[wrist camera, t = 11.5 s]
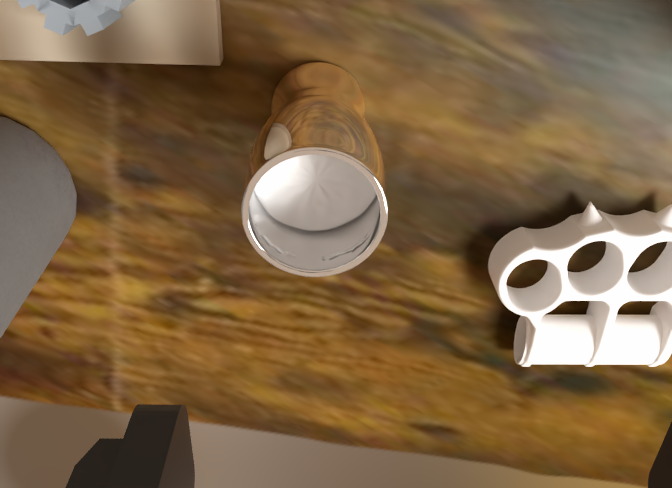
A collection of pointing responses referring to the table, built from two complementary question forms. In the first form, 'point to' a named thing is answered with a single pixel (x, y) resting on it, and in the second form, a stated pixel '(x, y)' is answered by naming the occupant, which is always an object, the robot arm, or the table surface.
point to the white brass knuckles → (590, 290)
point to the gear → (78, 13)
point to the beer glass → (315, 176)
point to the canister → (29, 212)
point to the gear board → (120, 35)
